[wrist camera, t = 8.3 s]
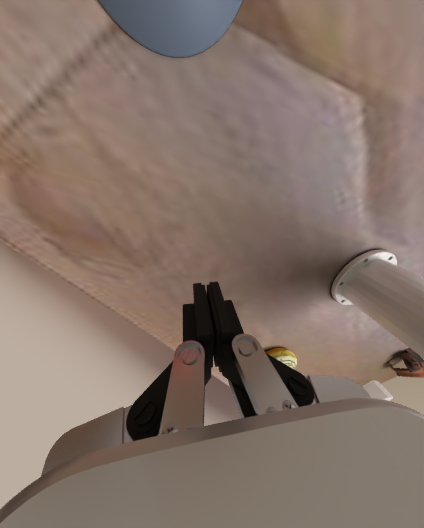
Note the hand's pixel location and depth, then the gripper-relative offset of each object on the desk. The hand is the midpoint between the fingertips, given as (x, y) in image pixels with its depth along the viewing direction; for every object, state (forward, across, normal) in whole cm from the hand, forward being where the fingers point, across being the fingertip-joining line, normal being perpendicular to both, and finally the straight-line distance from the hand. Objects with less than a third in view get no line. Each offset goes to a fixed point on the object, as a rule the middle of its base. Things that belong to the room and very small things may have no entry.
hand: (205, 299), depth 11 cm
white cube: (+16, -72, +71) cm, 102 cm away
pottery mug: (+16, -72, +49) cm, 89 cm away
